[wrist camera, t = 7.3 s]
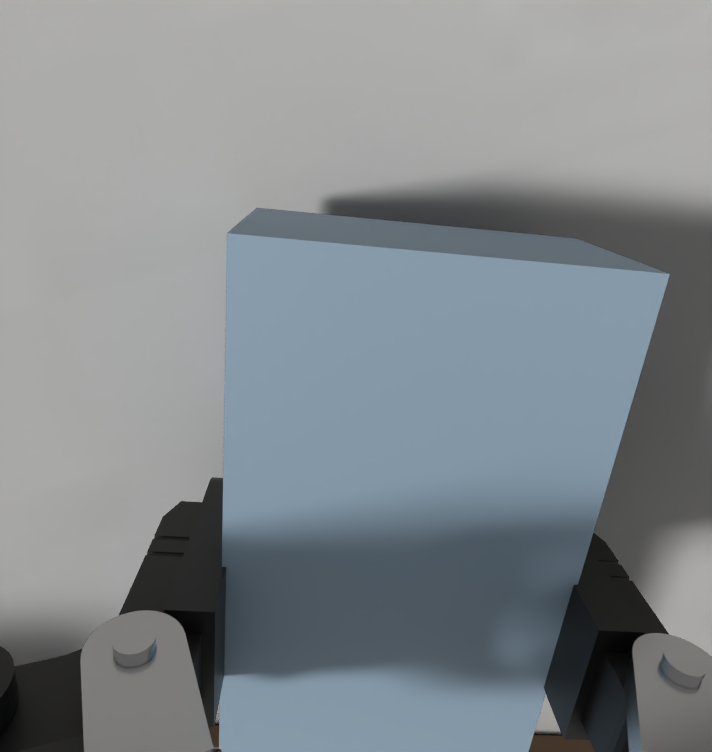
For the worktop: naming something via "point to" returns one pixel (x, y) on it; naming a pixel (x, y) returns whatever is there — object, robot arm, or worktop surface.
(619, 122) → the worktop surface
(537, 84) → the worktop surface
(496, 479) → the light blue block
